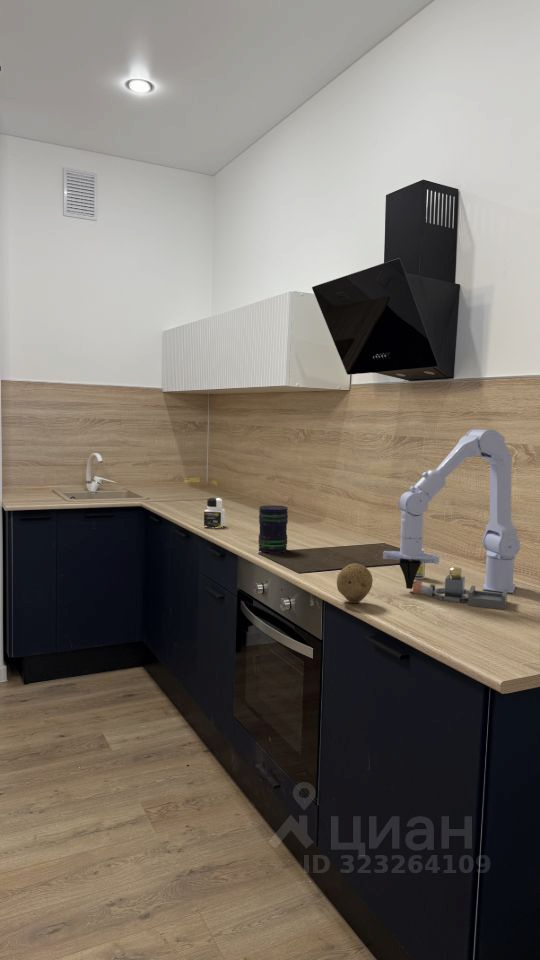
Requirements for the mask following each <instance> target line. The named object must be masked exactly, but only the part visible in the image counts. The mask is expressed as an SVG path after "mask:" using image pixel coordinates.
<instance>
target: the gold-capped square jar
mask: <svg viewBox="0 0 540 960" xmlns="http://www.w3.org/2000/svg"><path fill="white" fill-rule="evenodd" d="M462 570H463V569H462V568H461V567H457V566H455V567H454V566H451V567H449V572H448V573H449V574H448V575H446V577H445V579H444V588H445V592H444V596H449V597H458V598H462V597H465V594H464V589H465V585H466V577H465V576H462Z"/></svg>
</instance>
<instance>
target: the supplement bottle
mask: <svg viewBox="0 0 540 960" xmlns="http://www.w3.org/2000/svg"><path fill="white" fill-rule="evenodd" d="M422 553H425V550H424V548H422ZM425 569H426V562H422V563H421V565H420V567H419V569H418V571H417V574H416V576H415V579H414V580H423V579H425V572H426V571H425Z"/></svg>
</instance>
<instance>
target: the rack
mask: <svg viewBox="0 0 540 960" xmlns="http://www.w3.org/2000/svg"><path fill="white" fill-rule="evenodd" d="M467 597H468V602H467V606H472V607H482V608H488V609H489V608H490V609H498V610H505V609H506V606H507V602H508V592H507V589H503V592H496V591H487V590H476V585H471V586H470V589H469V592H468V595H467Z"/></svg>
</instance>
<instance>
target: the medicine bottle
mask: <svg viewBox="0 0 540 960" xmlns="http://www.w3.org/2000/svg"><path fill="white" fill-rule="evenodd" d="M206 501H207V502H206V508H207V509H204V511H203V527H204V526H207V527H218V528H221V527H222V528H224V527H225V526H224V525H225V523H226V522H225V521H226V519H225V518H226V514H225V513H226V510H225V508H223V499H222V498H219V497H210V498H207V500H206ZM223 526H224V527H223ZM222 528H221V529H222Z"/></svg>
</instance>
